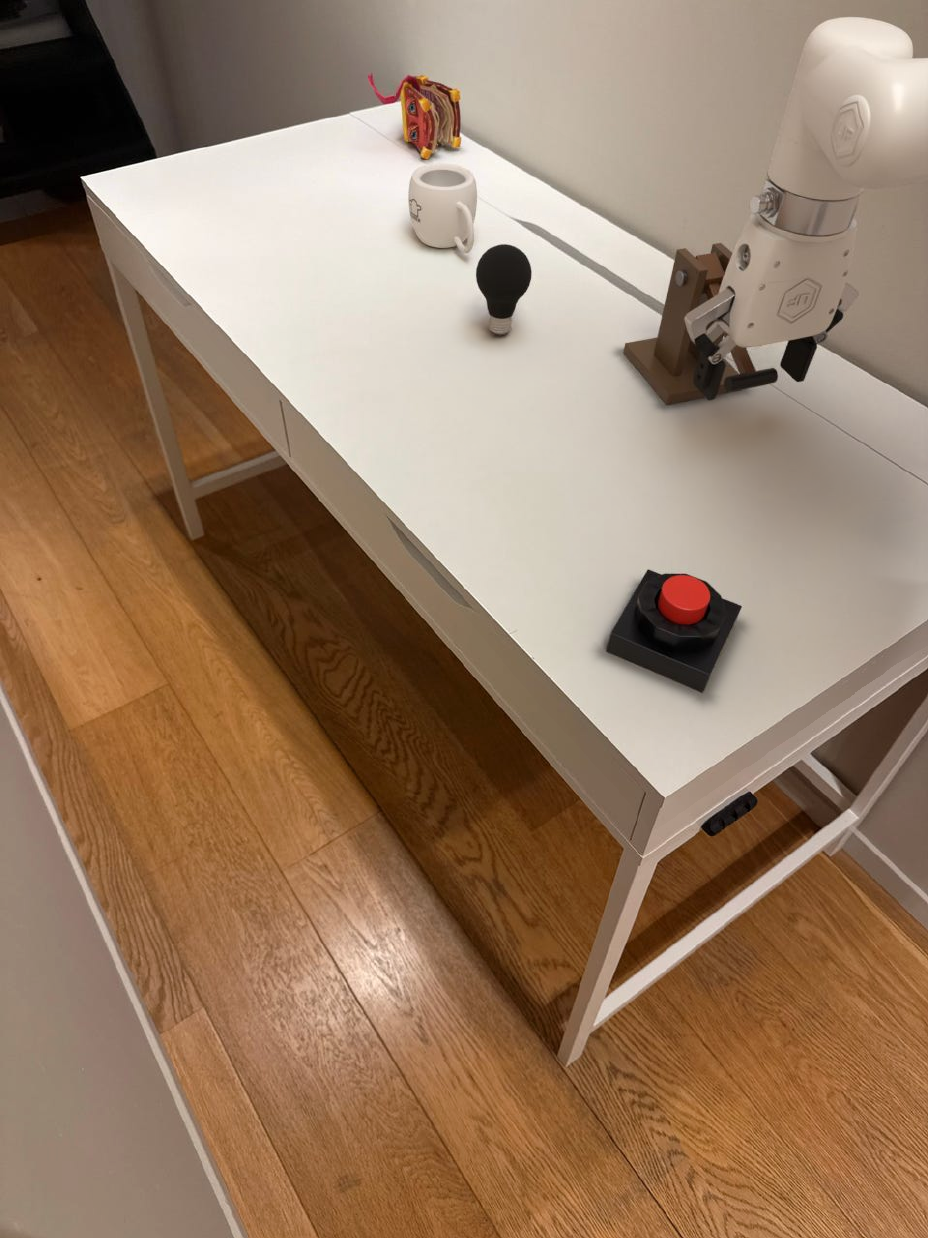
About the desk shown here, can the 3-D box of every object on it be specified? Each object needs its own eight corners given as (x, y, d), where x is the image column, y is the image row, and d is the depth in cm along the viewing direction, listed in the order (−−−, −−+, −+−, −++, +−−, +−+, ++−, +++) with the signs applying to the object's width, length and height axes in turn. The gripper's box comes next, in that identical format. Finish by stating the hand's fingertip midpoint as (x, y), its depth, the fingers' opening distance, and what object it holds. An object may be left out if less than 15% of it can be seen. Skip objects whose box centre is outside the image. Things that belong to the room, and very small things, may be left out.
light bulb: (464, 326, 99) (467, 239, 92) (510, 315, 101) (517, 229, 93) (487, 353, 96) (492, 265, 88) (534, 342, 98) (544, 255, 90)
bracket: (742, 389, 93) (778, 274, 83) (666, 404, 91) (695, 288, 81) (695, 339, 99) (724, 226, 89) (623, 352, 97) (645, 238, 87)
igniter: (734, 623, 72) (748, 590, 69) (703, 693, 67) (716, 660, 64) (642, 586, 74) (652, 553, 71) (605, 651, 69) (613, 618, 66)
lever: (770, 388, 85) (782, 374, 83) (725, 397, 84) (736, 384, 82) (717, 266, 89) (728, 250, 86) (673, 273, 87) (683, 257, 85)
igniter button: (711, 601, 68) (716, 585, 67) (695, 632, 66) (701, 616, 65) (667, 583, 69) (672, 568, 68) (650, 613, 67) (655, 598, 66)
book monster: (465, 151, 130) (391, 169, 127) (438, 130, 135) (366, 147, 132) (463, 70, 122) (384, 87, 118) (434, 51, 127) (358, 67, 124)
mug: (397, 230, 114) (396, 167, 108) (455, 218, 116) (457, 155, 110) (440, 273, 107) (441, 207, 101) (501, 258, 110) (505, 194, 104)
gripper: (739, 239, 67) (687, 422, 80) (924, 210, 71) (846, 389, 84) (690, 195, 71) (649, 376, 85) (867, 171, 76) (802, 346, 89)
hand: (748, 382), depth 84 cm, fingers open, 9 cm apart
